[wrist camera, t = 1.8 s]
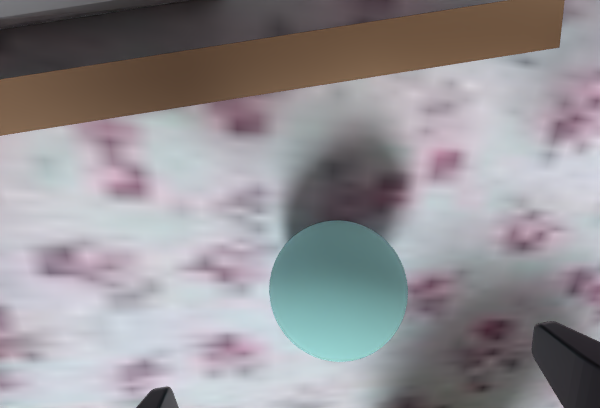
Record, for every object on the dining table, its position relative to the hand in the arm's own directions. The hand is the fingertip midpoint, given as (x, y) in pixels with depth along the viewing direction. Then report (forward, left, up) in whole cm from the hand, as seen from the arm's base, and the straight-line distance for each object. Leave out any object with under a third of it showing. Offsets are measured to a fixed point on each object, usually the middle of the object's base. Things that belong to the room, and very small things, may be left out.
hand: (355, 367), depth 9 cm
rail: (+7, +3, -5) cm, 9 cm away
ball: (0, 0, -6) cm, 6 cm away
